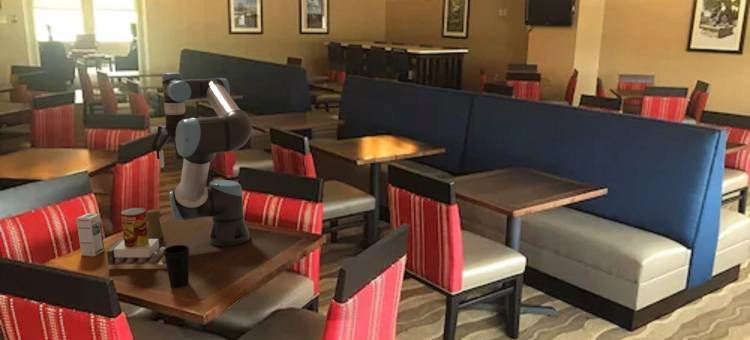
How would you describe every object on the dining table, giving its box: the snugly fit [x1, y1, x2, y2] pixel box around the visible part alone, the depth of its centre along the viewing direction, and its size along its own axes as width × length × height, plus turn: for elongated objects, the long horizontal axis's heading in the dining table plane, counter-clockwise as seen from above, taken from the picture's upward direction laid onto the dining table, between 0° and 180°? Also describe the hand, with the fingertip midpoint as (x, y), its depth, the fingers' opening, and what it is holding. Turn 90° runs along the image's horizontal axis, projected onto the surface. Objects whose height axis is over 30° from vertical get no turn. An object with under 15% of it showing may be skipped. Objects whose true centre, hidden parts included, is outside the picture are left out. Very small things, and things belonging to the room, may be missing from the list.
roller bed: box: [106, 238, 167, 270], centre depth 215 cm, size 22×12×6 cm, turn 91°
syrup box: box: [75, 212, 105, 257], centre depth 223 cm, size 6×6×14 cm
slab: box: [113, 239, 160, 258], centre depth 215 cm, size 12×10×3 cm
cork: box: [146, 209, 164, 240], centre depth 240 cm, size 6×6×11 cm
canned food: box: [120, 207, 149, 248], centre depth 213 cm, size 8×8×12 cm
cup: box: [164, 244, 190, 289], centre depth 196 cm, size 8×8×12 cm
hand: (179, 167), depth 241 cm, fingers open, 13 cm apart
